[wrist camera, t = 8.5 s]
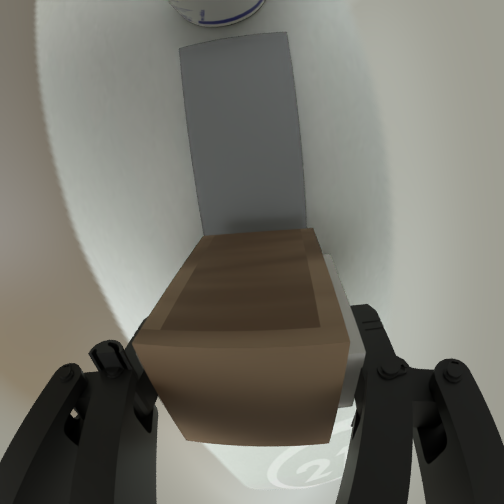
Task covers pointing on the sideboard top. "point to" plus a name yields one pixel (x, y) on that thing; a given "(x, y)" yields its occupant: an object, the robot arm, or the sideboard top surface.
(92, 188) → the sideboard top surface
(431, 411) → the robot arm
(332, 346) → the wooden crate
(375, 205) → the sideboard top surface
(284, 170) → the mat
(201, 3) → the energy drink
